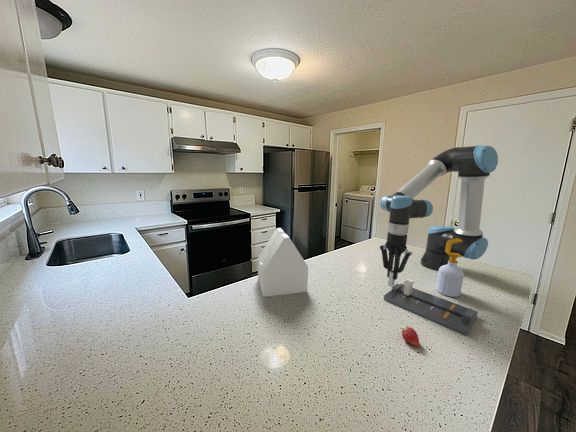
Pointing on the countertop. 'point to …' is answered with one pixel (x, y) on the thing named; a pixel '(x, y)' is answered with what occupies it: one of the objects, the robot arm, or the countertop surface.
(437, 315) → the console
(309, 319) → the countertop surface
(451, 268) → the soap bottle
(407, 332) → the fruit
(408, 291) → the fader
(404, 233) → the robot arm
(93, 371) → the countertop surface
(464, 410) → the countertop surface
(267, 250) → the white toy house
